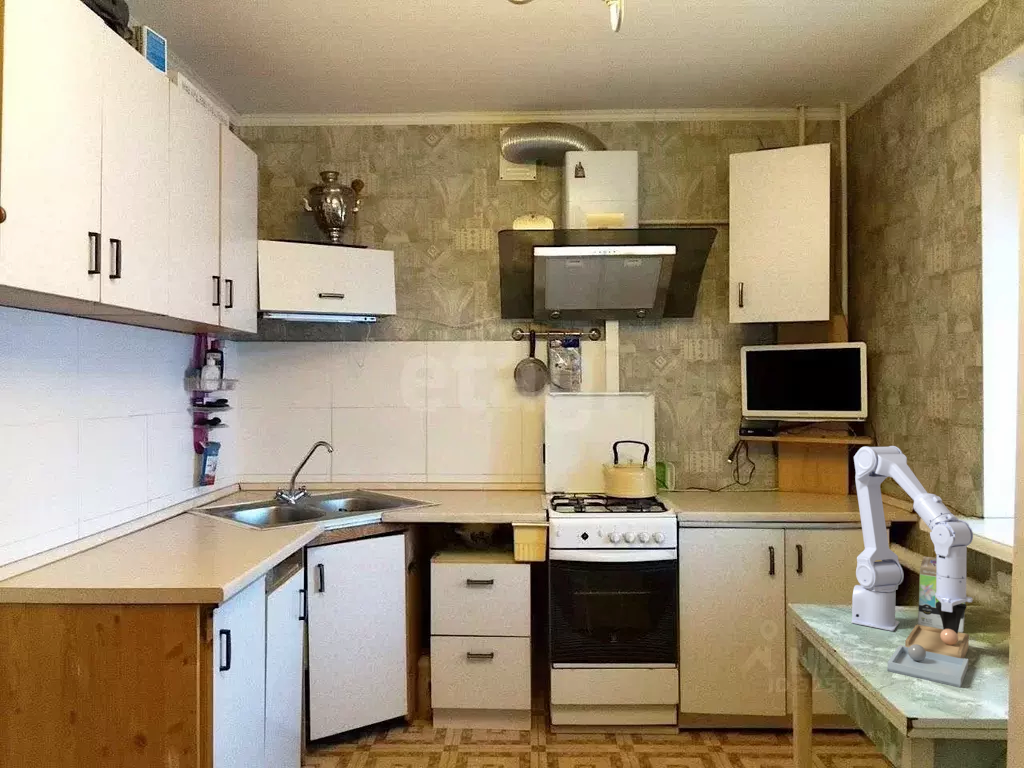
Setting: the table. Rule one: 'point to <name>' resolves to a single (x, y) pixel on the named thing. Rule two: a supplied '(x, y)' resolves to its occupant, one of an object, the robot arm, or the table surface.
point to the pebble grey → (917, 652)
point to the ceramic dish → (929, 667)
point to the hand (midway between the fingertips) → (950, 636)
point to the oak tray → (937, 641)
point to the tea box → (930, 596)
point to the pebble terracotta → (949, 636)
